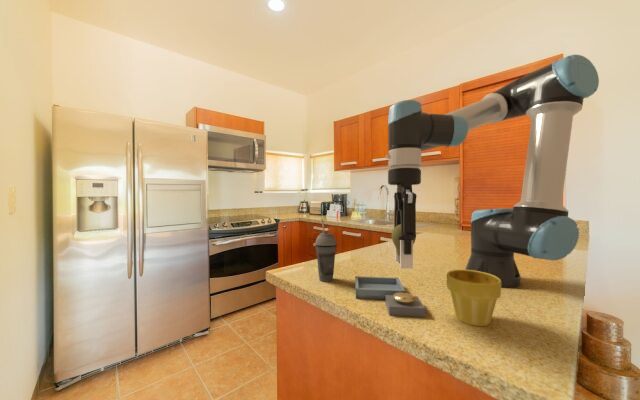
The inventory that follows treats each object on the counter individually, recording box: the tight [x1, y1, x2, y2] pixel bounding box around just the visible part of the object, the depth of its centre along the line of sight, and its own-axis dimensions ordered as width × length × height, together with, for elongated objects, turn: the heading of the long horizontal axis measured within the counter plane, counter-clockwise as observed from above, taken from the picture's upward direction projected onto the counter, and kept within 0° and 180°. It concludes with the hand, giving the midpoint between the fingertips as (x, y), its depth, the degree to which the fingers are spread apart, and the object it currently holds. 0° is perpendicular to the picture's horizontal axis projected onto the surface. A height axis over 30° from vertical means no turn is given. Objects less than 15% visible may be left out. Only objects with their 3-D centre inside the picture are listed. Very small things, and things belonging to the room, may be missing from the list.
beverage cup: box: [314, 218, 338, 283], centre depth 84 cm, size 7×7×20 cm
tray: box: [354, 275, 407, 301], centre depth 74 cm, size 13×11×2 cm
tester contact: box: [393, 292, 415, 303], centre depth 62 cm, size 5×5×1 cm
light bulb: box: [391, 224, 417, 264], centre depth 62 cm, size 6×6×10 cm
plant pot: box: [446, 269, 502, 327], centre depth 57 cm, size 10×10×10 cm
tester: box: [384, 294, 426, 318], centre depth 62 cm, size 8×7×3 cm
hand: (403, 264), depth 62 cm, fingers closed on light bulb, 6 cm apart
